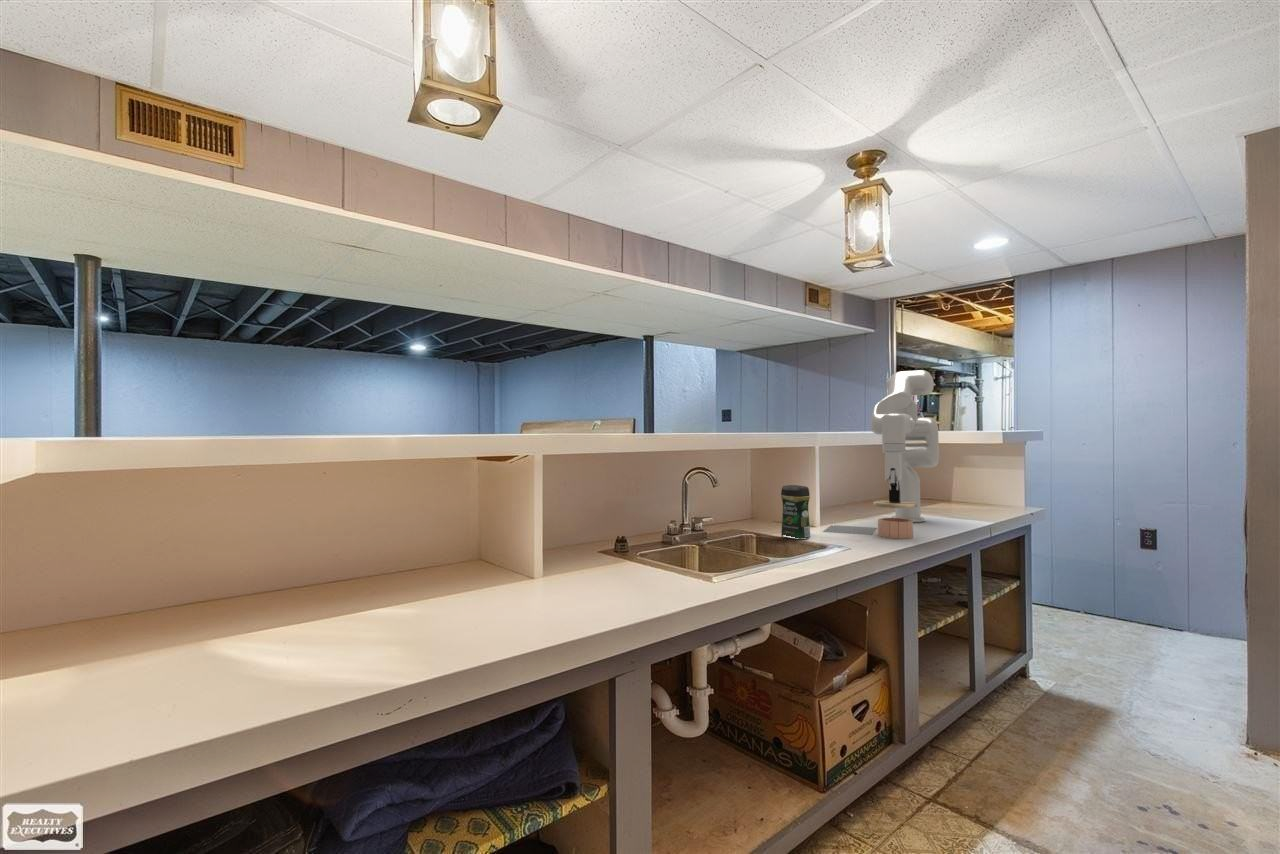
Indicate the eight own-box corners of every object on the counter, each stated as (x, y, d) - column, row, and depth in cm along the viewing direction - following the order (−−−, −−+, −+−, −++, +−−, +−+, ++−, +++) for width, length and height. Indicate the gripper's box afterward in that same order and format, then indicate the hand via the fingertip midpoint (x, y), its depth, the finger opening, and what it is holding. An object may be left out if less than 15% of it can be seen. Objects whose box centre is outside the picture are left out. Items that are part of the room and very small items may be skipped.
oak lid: (876, 502, 215) (875, 486, 216) (918, 504, 209) (917, 487, 209) (871, 506, 203) (870, 489, 203) (915, 508, 196) (915, 490, 197)
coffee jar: (777, 537, 208) (776, 484, 209) (792, 534, 213) (791, 483, 213) (799, 541, 201) (798, 486, 201) (814, 538, 205) (813, 485, 206)
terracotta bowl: (880, 533, 213) (880, 517, 214) (914, 535, 208) (913, 518, 208) (876, 538, 204) (876, 521, 204) (911, 540, 199) (911, 523, 199)
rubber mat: (831, 526, 230) (831, 525, 230) (877, 529, 222) (877, 527, 222) (822, 533, 216) (822, 531, 216) (871, 536, 207) (871, 534, 207)
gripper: (885, 448, 215) (885, 498, 215) (879, 449, 201) (880, 502, 201) (907, 448, 212) (908, 499, 212) (903, 449, 197) (904, 503, 197)
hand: (894, 500), depth 206 cm, fingers closed on oak lid, 3 cm apart
